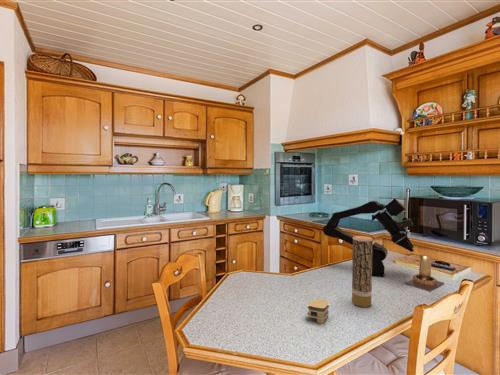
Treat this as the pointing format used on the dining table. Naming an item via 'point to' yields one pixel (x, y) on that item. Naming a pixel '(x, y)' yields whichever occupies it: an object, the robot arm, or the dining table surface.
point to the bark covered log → (362, 271)
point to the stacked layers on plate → (318, 310)
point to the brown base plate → (424, 283)
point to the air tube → (425, 267)
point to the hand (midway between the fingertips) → (413, 249)
